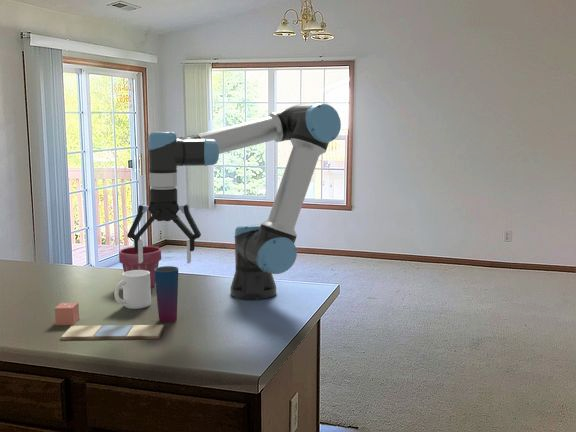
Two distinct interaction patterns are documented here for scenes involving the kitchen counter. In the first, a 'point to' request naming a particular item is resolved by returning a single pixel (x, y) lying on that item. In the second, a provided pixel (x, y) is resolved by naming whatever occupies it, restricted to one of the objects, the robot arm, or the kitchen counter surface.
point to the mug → (134, 289)
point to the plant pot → (149, 260)
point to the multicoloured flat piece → (113, 332)
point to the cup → (167, 292)
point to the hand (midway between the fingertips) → (164, 262)
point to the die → (66, 313)
